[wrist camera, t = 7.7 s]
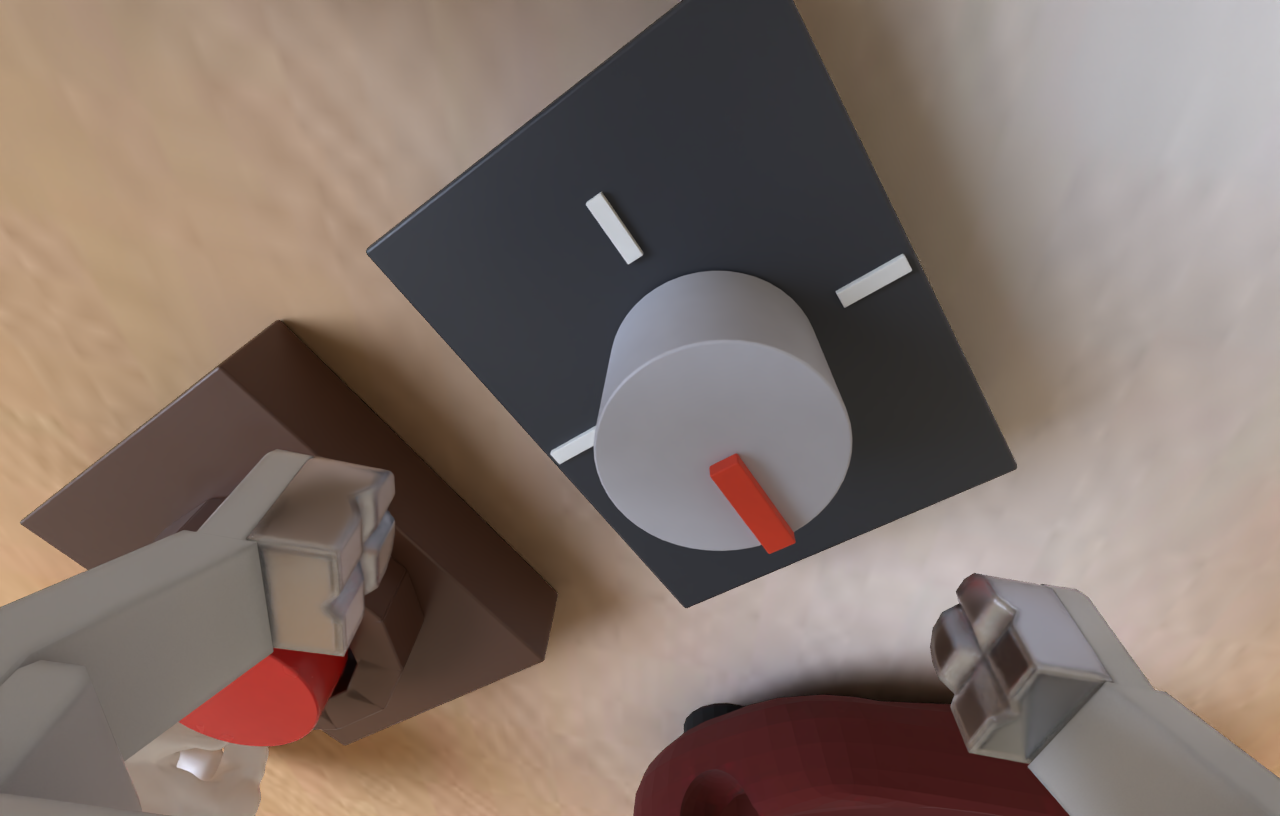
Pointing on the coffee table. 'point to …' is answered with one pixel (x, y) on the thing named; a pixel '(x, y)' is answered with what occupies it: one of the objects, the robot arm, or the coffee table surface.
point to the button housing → (422, 508)
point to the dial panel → (699, 266)
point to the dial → (720, 416)
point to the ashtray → (834, 764)
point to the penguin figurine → (197, 775)
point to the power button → (271, 700)
